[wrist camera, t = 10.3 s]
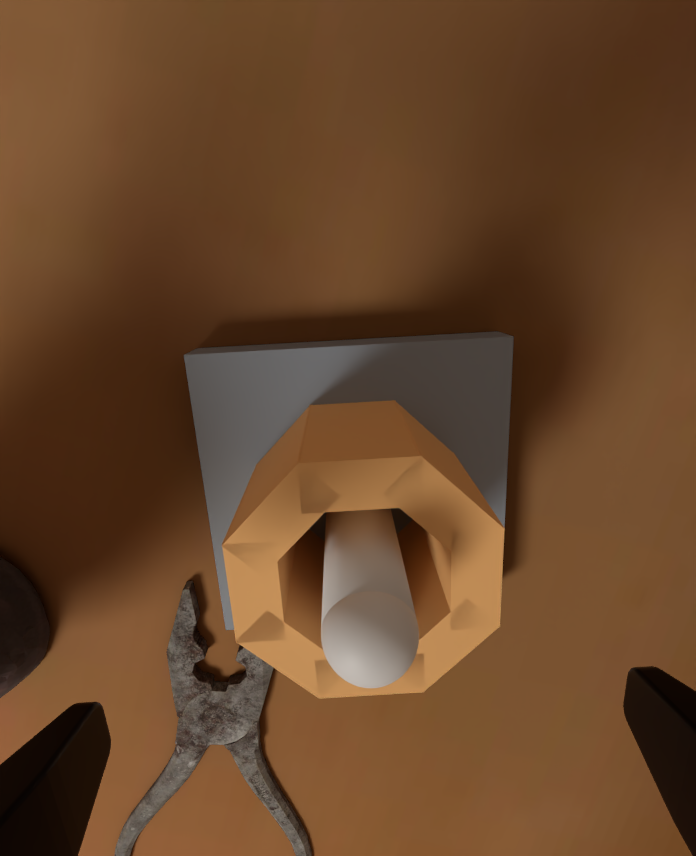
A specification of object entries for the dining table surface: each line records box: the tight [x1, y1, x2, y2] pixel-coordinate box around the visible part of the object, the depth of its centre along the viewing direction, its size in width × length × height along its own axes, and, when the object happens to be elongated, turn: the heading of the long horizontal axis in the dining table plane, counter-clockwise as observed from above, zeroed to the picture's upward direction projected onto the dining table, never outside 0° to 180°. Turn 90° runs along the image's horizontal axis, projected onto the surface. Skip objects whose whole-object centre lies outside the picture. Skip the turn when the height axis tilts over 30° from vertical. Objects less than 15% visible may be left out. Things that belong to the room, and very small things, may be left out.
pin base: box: [184, 331, 514, 688], centre depth 13 cm, size 10×10×9 cm
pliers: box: [115, 581, 312, 856], centre depth 22 cm, size 10×1×20 cm
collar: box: [222, 400, 505, 699], centre depth 14 cm, size 6×6×5 cm
